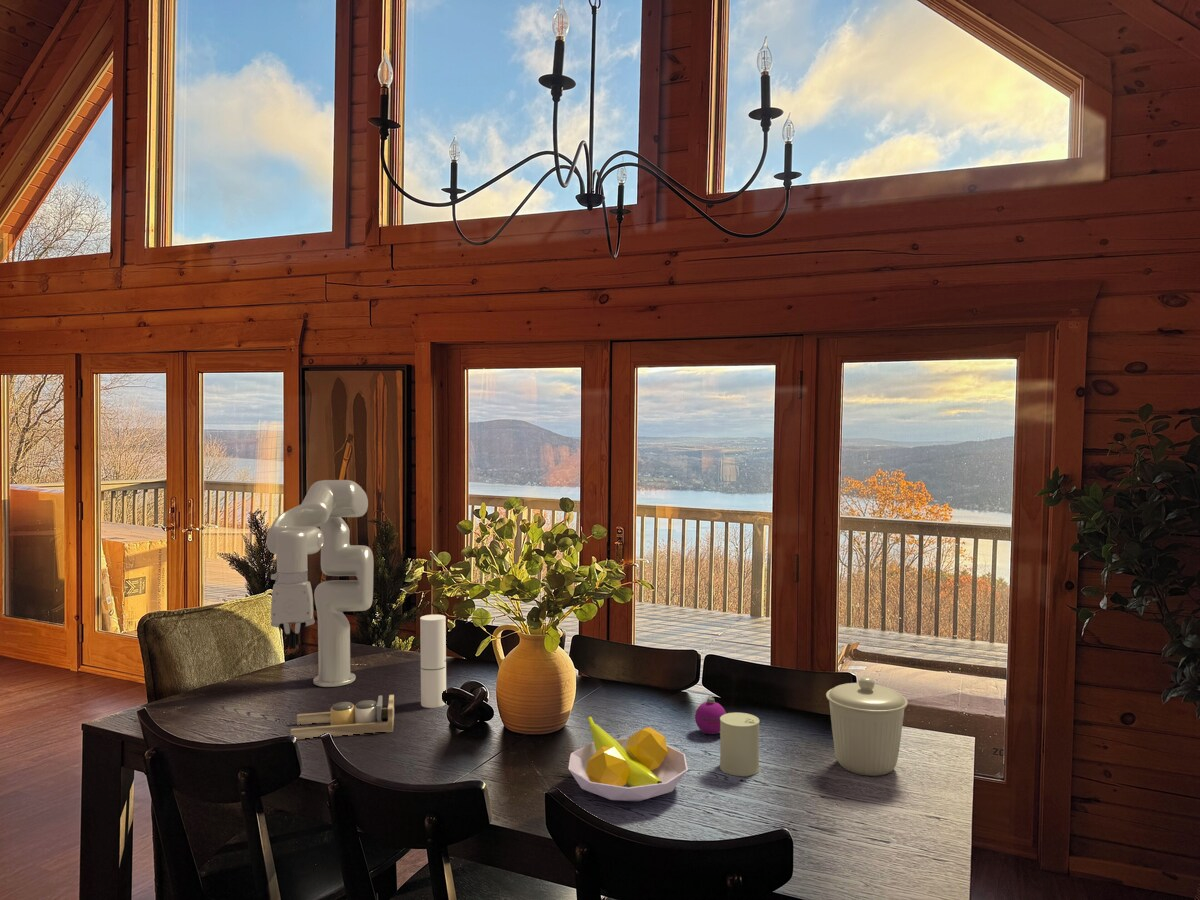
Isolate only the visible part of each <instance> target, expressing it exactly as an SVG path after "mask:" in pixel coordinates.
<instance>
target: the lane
mask: <svg viewBox="0 0 1200 900" xmlns="http://www.w3.org/2000/svg"><path fill="white" fill-rule="evenodd" d="M387 704H388V705H387V707H382V709H383V718H382V719H387V720H385V721H382V722H371V723H358V724H345V725H332V726H331V725H321V726H311V727H310V726H308V727H296V728H291V729H290V736H291V735H294V736H296V738H297V740H305V738H310V739H314V738H313V737H318V736H320V735H322V734H324V733H330V734H331V735H333V737H332V738H335V737H343V736H342V735H348V736H354V735H353V734H360V735H365V734H364V733H373V734H376V733H375V732H386V733H393V732H394V724H395V723H394V722H395V721H394V720H395V694H389V695H388V703H387ZM384 717H385V718H384ZM387 717H388V718H387ZM312 723H316V724H328V723H330V724H331V711H323V712H321V711H320V712H310V713H309V712H308V713H307V712H306V713H297V714H296V725H297V726H299V725H300V724H301V725H312Z"/></svg>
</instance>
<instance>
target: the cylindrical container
mask: <svg viewBox="0 0 1200 900" xmlns="http://www.w3.org/2000/svg"><path fill="white" fill-rule="evenodd" d="M446 618H447V616H445V615H444V614H426V615H422V616H420V618H419V620H420V623H419V624H420V628H419V629H420V631H419V632H420V636H419V637H420V638H419V641H420V706H421V707H423V708H428V709H433V708H434V709H435V708H437V709H438V708H441V707H444V706H445V705H446V704H445V703H444V702H443V701H442V693H443V691H445V690H446V691H447V645H446V644H447V641H446V640H447V637H446V636H447V631H446V630H447V627H446V623H447V621H446V620H447V619H446Z"/></svg>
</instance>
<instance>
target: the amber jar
mask: <svg viewBox="0 0 1200 900" xmlns="http://www.w3.org/2000/svg"><path fill="white" fill-rule="evenodd" d="M354 706H355V705H354V703H353V702H350V701H340V702H336V703H334V704H332V706H331V707H330V712H331V722H330V726H332V725H345V724H354Z"/></svg>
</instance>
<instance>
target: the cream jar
mask: <svg viewBox="0 0 1200 900" xmlns="http://www.w3.org/2000/svg"><path fill="white" fill-rule="evenodd" d="M377 703H378V702H377V701H376V700H374V699H373V700H371V699H366V700H359V701H358V702H356V703H355V705H354V724H358V723H371V722H377Z"/></svg>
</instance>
